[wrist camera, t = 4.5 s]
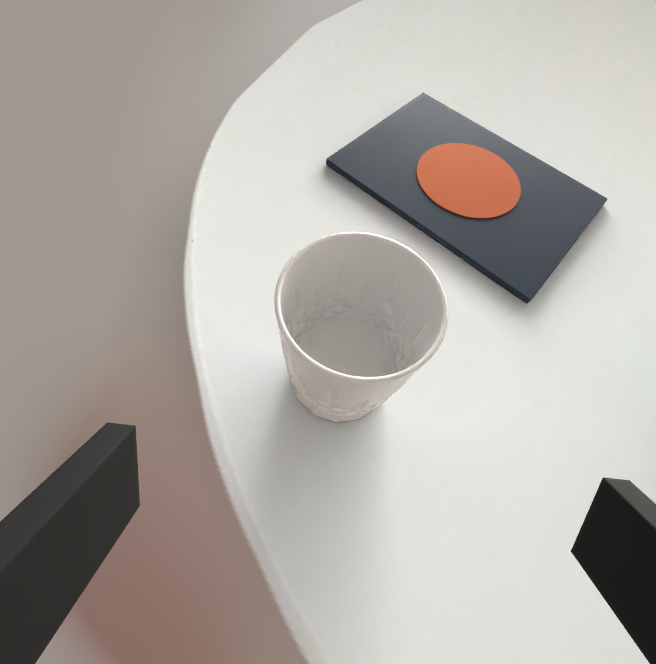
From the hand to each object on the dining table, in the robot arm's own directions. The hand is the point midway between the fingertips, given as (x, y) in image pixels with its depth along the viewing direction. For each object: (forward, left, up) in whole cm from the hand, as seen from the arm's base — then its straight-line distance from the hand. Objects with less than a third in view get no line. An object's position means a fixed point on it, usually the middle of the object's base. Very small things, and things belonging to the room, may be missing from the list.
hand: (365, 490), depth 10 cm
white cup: (-5, +6, -13) cm, 15 cm away
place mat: (-9, +29, -13) cm, 33 cm away
